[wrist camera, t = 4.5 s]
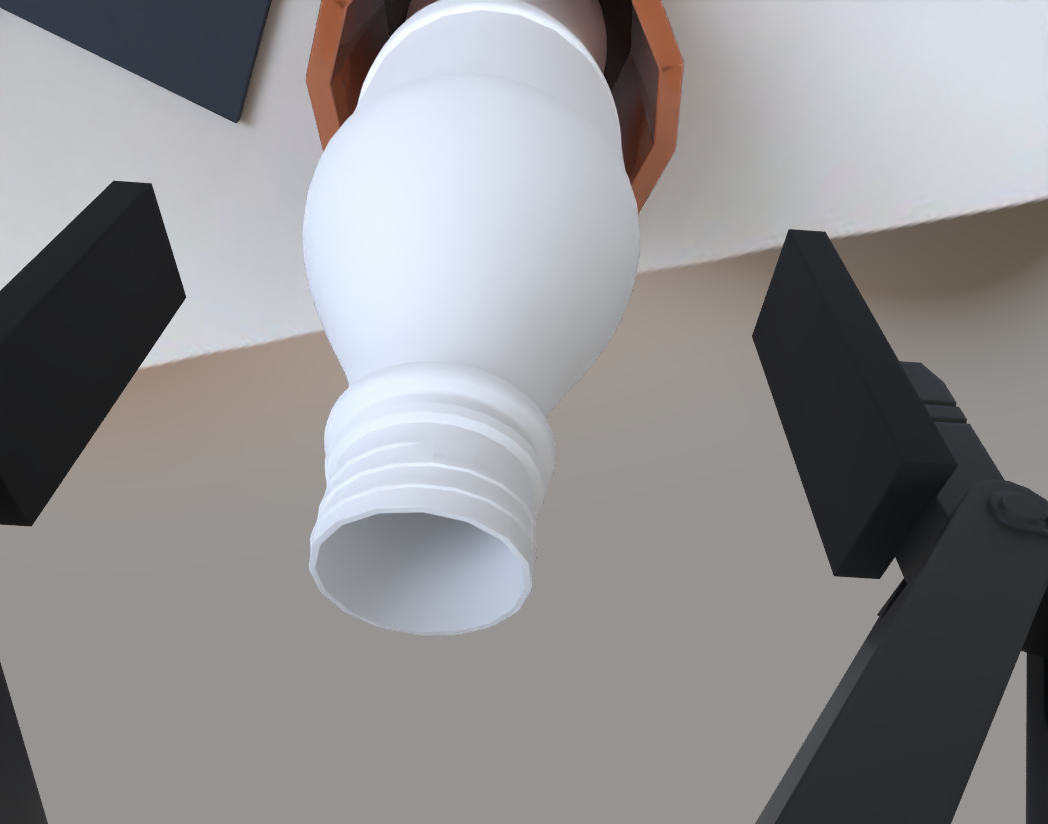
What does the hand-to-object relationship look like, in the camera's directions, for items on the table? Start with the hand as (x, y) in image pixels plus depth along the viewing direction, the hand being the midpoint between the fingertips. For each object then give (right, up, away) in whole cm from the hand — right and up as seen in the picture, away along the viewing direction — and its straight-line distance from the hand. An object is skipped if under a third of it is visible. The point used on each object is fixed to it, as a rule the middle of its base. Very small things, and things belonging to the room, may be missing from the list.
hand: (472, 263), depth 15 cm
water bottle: (+1, +12, +12) cm, 17 cm away
